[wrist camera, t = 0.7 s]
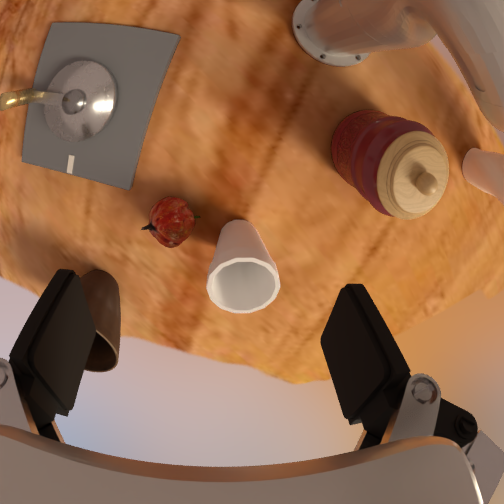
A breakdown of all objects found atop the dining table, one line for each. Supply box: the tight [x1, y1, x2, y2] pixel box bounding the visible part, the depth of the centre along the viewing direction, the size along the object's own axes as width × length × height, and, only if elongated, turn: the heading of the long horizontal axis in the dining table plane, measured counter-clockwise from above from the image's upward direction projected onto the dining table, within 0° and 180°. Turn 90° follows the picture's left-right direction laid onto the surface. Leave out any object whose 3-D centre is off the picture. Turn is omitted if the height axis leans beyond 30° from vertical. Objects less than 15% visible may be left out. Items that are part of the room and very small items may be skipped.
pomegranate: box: [141, 197, 200, 248], centre depth 40 cm, size 7×7×10 cm
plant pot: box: [80, 270, 121, 372], centre depth 43 cm, size 15×15×16 cm
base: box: [22, 22, 181, 190], centre depth 30 cm, size 24×22×2 cm
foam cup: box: [206, 220, 280, 313], centre depth 41 cm, size 10×9×13 cm
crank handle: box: [0, 61, 119, 142], centre depth 25 cm, size 16×12×9 cm
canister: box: [331, 110, 449, 220], centre depth 32 cm, size 13×13×18 cm
